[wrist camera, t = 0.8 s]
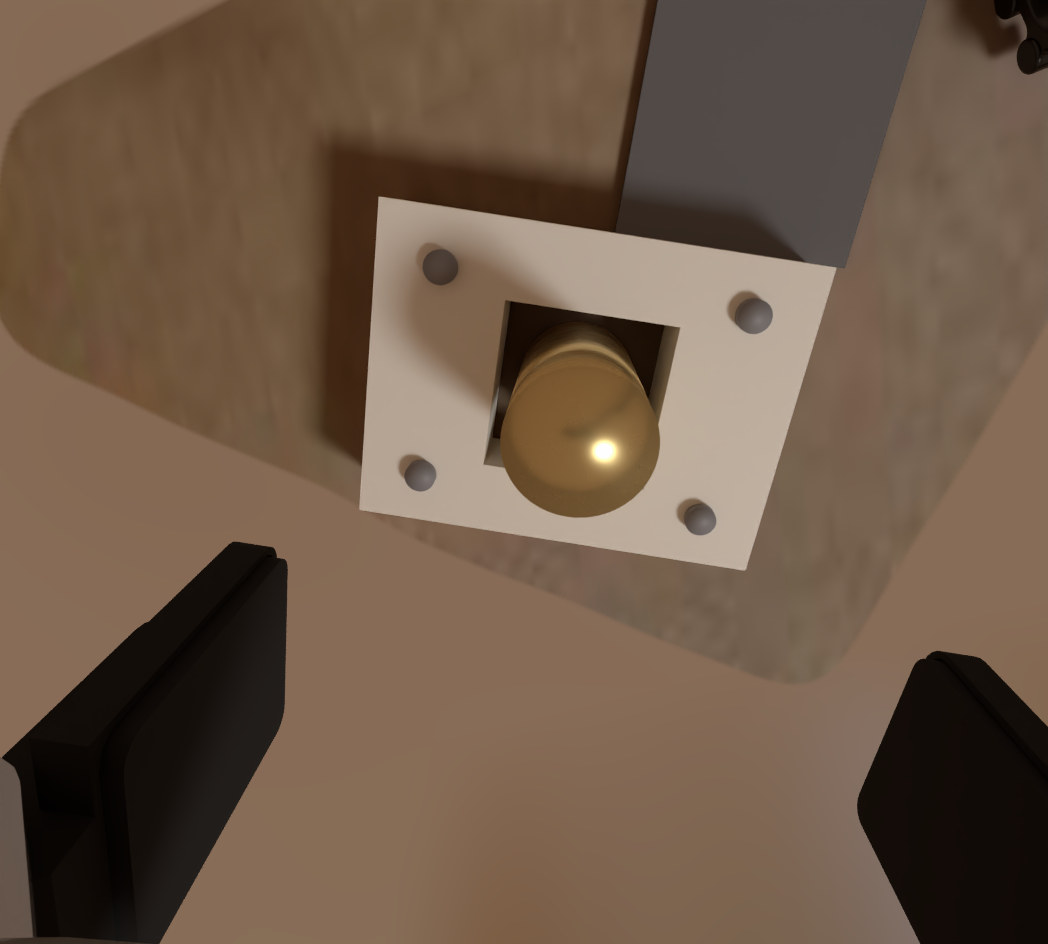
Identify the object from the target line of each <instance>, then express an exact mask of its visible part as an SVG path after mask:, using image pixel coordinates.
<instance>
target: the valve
mask: <svg viewBox="0 0 1048 944" xmlns="http://www.w3.org/2000/svg"><path fill="white" fill-rule="evenodd" d="M994 4H995V11H996V14H997V15H998V17H999V18H1001V19H1004V20H1006V19H1009V18H1012V17H1014V16H1016V15H1019V14H1021V15H1022V17H1023V20H1024V22H1025V24H1026V27H1027V38H1026V39H1025V40H1024V41H1023V42H1022V43H1021V44H1020V46H1019V48H1018V51H1017V63H1018V66H1019V68H1020V70H1021V71H1022V72H1023V73H1024V74H1027V75H1029V74H1033V73H1035V72H1038V71H1040V70H1043V69H1045V68H1048V0H994Z"/></svg>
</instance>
